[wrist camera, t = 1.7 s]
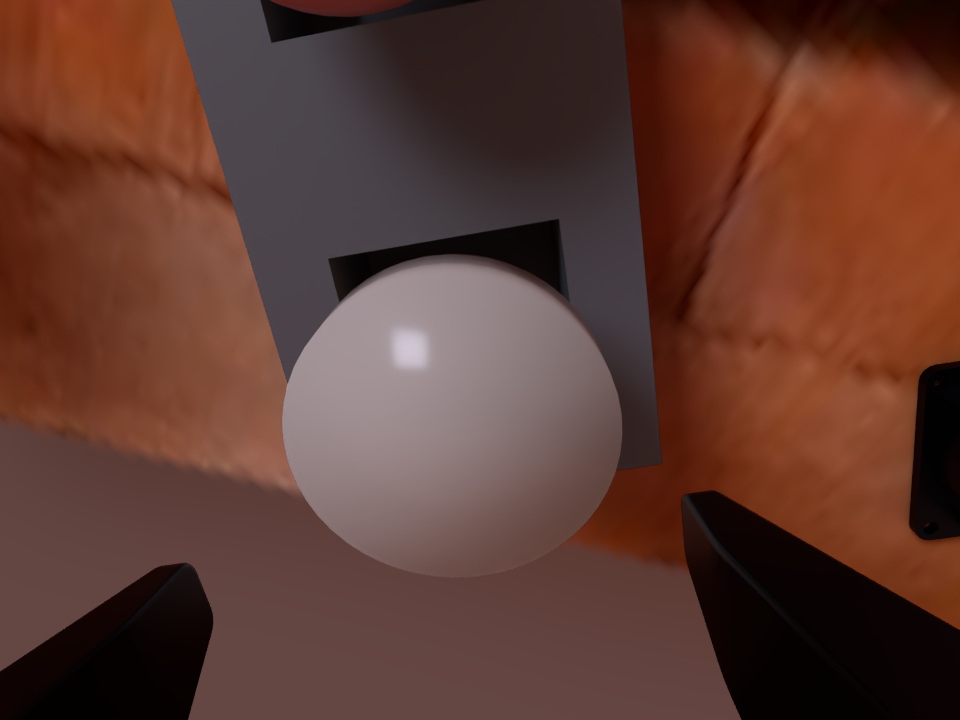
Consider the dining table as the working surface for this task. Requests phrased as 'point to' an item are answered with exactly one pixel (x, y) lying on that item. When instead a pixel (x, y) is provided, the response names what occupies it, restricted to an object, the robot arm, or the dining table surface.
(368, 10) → the knob mid
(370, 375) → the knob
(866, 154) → the dining table surface
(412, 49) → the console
